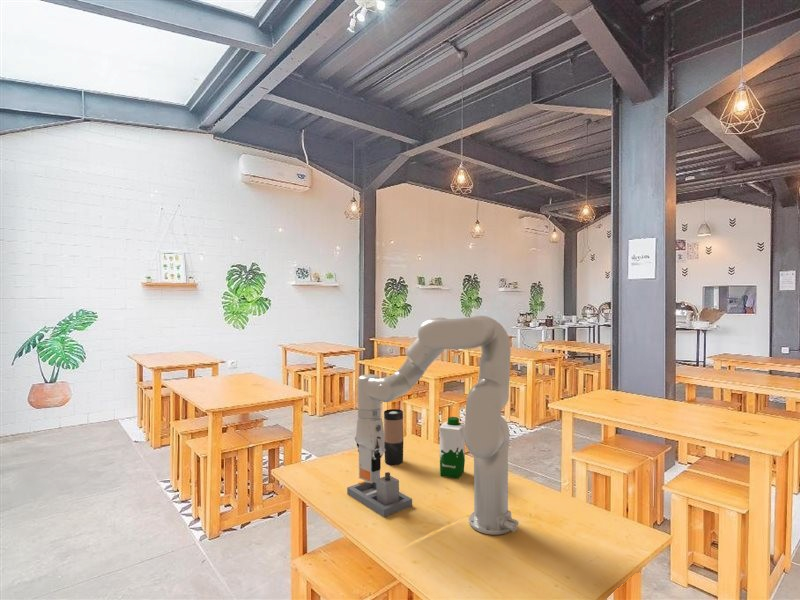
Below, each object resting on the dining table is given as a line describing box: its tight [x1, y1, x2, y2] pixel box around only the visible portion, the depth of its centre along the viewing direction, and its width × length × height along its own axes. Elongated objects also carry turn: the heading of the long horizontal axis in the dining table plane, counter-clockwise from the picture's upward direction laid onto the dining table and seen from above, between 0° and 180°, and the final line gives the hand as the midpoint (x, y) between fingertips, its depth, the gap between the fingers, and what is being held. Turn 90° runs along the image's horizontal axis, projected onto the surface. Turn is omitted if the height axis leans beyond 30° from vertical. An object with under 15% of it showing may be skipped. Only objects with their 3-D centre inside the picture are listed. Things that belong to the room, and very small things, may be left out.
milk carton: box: [438, 416, 466, 480], centre depth 165 cm, size 9×9×20 cm
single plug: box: [376, 472, 400, 506], centre depth 140 cm, size 5×5×10 cm
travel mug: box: [383, 408, 404, 466], centre depth 177 cm, size 8×8×20 cm
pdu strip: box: [346, 480, 413, 518], centre depth 144 cm, size 20×11×3 cm, turn 39°
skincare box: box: [358, 443, 381, 484], centre depth 148 cm, size 6×4×12 cm
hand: (369, 466), depth 148 cm, fingers closed on skincare box, 6 cm apart
